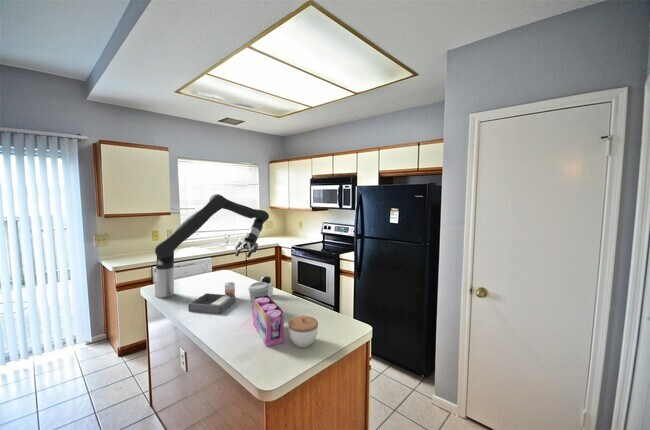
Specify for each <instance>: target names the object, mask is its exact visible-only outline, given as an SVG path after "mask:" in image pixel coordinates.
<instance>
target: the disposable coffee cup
mask: <svg viewBox="0 0 650 430" xmlns="http://www.w3.org/2000/svg"><path fill="white" fill-rule="evenodd" d="M268 288H269V286H268V284H267V283H266V282H261V281H256V282H253V283H251V284H250V285H249V286H248V293H249V297H250V305H251V310H252V312H253V297H259V296H266V295H267V294H268Z"/></svg>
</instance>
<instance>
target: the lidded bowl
mask: <svg viewBox="0 0 650 430" xmlns="http://www.w3.org/2000/svg"><path fill="white" fill-rule="evenodd" d="M318 326H319V322H318V320H317V319H316V318H315V317H312V316H307V315H301V316H300V315H299V316H294V317H292V318H290V320H289V321H288V335H289V339H290V341H291V342H292V343H293V344H294V345H295V346H296V347H298V348H307V347H310V346H311V345H312V344H313V342H314V341H315V340H316V338H317V337H318V336H317V334H318V330H319V329H318V328H319V327H318Z"/></svg>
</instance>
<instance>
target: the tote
mask: <svg viewBox="0 0 650 430" xmlns="http://www.w3.org/2000/svg"><path fill="white" fill-rule="evenodd" d="M223 296H228V297H231V298H230V299H228V300H227V301H226V302H224V303H223V304H221V305H220V306H216V305H211V304H212V303H214V302H215V301H217V300H218V299H220V298H221V297H223ZM235 303H236V295H235V296H233V295H225V294H221V293H220V294H219V293H207V292H206V293H205V294H202V295H201V296H199V297H198V298H195V299H194V300H193V301H191V302H189V303H188V312H192V313H193V312H194V313H204V314H213V315H221V314H223V313H224V312H225V311H226V310H228V309H229V308H230V307H232V306H233V305H235Z"/></svg>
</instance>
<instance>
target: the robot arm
mask: <svg viewBox="0 0 650 430" xmlns="http://www.w3.org/2000/svg"><path fill="white" fill-rule="evenodd" d="M222 209H224V210H228V211H230V212H232V213H235V214H237V215H239V216H242V217H244V218H247V219H250V220H251V219H254V220H253V223H252V225H251V227H250V229H248V232H247V233H246V235H245V237H244V240H243V242H242V241H239V240H238V243H237V244H236V245H235V248H234V249H235V250H236V251H235V253H234V255H235V257H239V255H240V253H241V251H244V250H249V251H248V252H247V254H246V258H247V259H249V258H250V257H252V254H253V253H256V251H257V250H258V247H259V244H258V243H257V240H258V239H259V236H260V234H261V232H262V230H263V225H264V223H265V222H267V221H268V220H269V218H270V216H269V215H270V214H269V213H268V211H265V210H263V209H255V208H252V207H249V206H246V205H244V204H241V203H237V202H234V201H232V200H230V199H227V198H226V197H225V196H223V195H221V194H219V193H218V194H217V193H216V194H213V195H211V196H210V198H209V200H208V202H207V203H206V204H205V205H204V206H203V207H202V208H201V209H199V210H198V211H196V212H195V213H192V214H191V215H190V216H188V217H187V218H186V219H185V220H184V221H183V222H182V223H181V224H179V226H178V227H177V228H176V229H175V230H174V232H173V233H172V234H171V235H170V236H168V237H167V238H166V239H164V240H162V241H160V242H159V243H158V244H157V245H156V247H155V249H154V254H155V256H156V264H155V270H156V271H155V272H156V273H155V274H156V277H155V279H156V280H154V296H155V297H156V298H159V299H164V298H170V297H172V296H174V295H175V278H174V276H175V275H174V271H175V269H174V267H175V266H174V265H175V250H176V249H177V248H178V247H179V246H180V245H181V244H182V243H183V242H185V241H186V240H188V239H189V238H190V237H191V236H192V235H194V234H195V233H196V232H197V231H199V229H201V227H202V226H204V224H206V222H208V221H209V219H211V218H212V217H213V216H214V215H215V214H217V213H218V212H219V211H220V210H222Z"/></svg>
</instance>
